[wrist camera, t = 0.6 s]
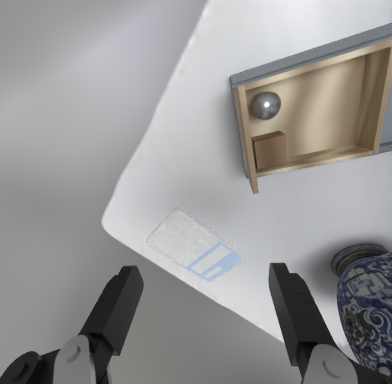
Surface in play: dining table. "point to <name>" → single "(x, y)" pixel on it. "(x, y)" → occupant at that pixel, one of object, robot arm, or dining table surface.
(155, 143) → the dining table surface
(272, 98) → the grey ball
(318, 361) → the robot arm
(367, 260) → the decorative vase
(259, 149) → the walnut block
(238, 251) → the white flat textured slab
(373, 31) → the rail board
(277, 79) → the wooden drawer
